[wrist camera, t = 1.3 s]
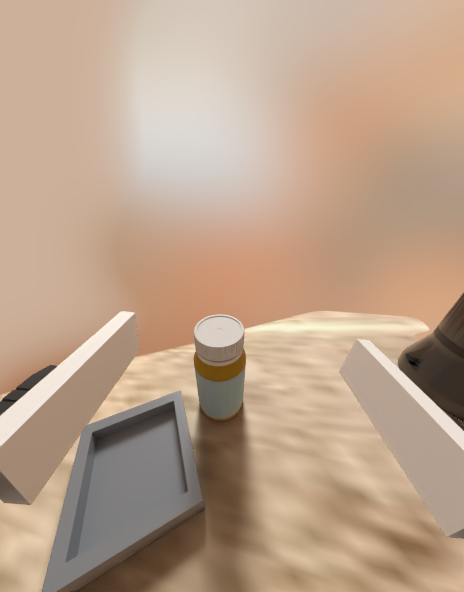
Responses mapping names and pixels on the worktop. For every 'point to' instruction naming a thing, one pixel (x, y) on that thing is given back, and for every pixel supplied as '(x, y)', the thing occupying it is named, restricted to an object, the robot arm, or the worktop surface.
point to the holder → (124, 491)
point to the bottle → (220, 365)
